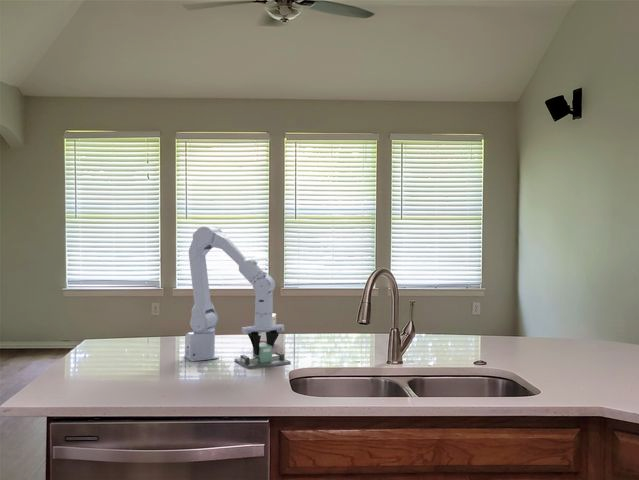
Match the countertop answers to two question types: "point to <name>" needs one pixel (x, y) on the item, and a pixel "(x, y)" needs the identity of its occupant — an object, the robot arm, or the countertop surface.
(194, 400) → the countertop surface
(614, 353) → the countertop surface
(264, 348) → the block
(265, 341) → the ink box
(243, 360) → the rail plate
